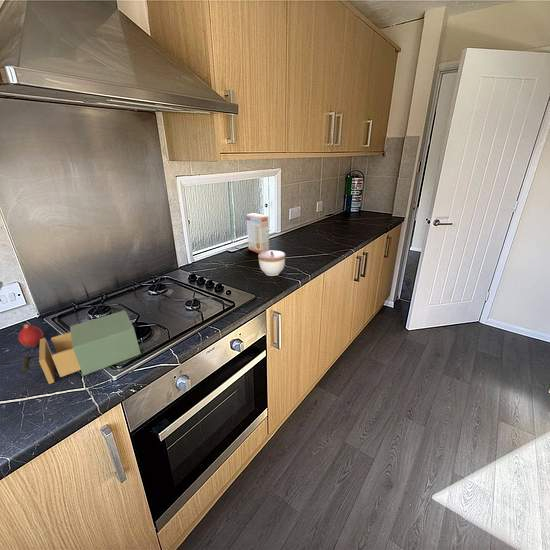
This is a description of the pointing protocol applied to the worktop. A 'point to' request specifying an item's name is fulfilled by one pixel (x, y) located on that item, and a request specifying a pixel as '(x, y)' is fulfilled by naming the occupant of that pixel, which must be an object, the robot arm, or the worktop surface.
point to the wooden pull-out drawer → (54, 358)
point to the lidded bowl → (272, 262)
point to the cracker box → (257, 232)
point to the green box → (104, 342)
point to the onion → (30, 335)
